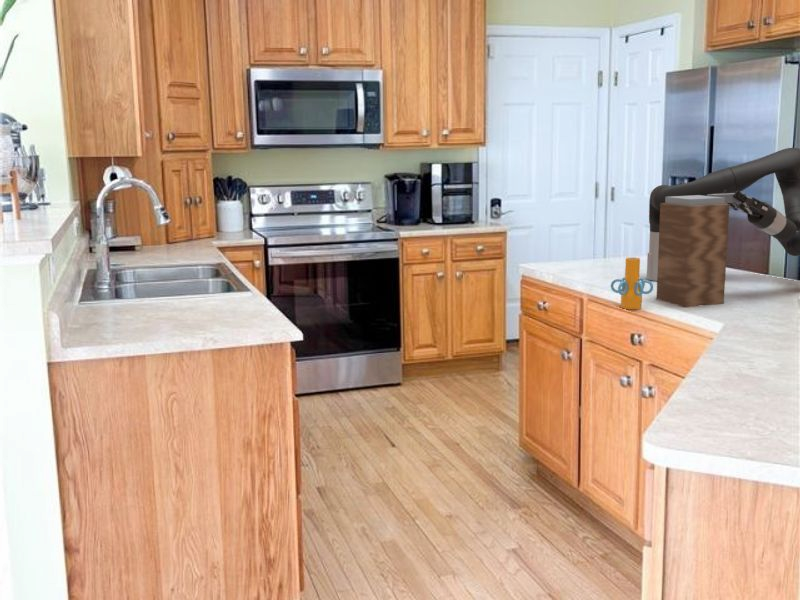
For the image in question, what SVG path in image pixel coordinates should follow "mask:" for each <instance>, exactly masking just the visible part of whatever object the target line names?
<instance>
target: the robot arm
mask: <svg viewBox="0 0 800 600" xmlns="http://www.w3.org/2000/svg"><path fill="white" fill-rule="evenodd" d="M773 174H774V175H775V178H776V180H777V184H778V186H779V189H780V191H781V194H782V200H783V207H784V214H785V215H784V214H783V213H782V212H780V211H779V210H778V209H777V208H775V207H773V206H771V204H769V203H767V202H766V201H761V200H759V199H757V198H755V197H750V196H748V195H747V196H745V195H744V194H742V193H743V191H744V190H746V189H747V188H749V187H751V186H752V185H753V184H754V183H755V184H756V182H758V181H759V180H761V179H762V178H764V177H766V176H769V175H773ZM724 193H735V194H734V196H733V197H734V198H735V199H737V200H738V201H740V202H733V203H726V204H730V205H729V207H731V208H732V209H733V210H734V211H737V212H738V211H741V212H742V213H743V214H745V215H747V220H748V222H749V223H750V224H751V225H753V226H755V227H756V228H758V229H759V230H760V231H762V232H764V233H766V234H768V235H770V236H771V237H772V238H774V239H776V240H777V242H778V243H780V245H781V246H782V247H783V249H784V250H785V252H786V253H787V254H788V255H790V256H794V257H799V256H800V148H798V147H787V148H783V149H781V150H777V151H775V152H772V153H770V154H767V155H765V156H762V157H759V158H757V159H753V160H750V161H747V162H743V163H739V164H736V165H733V166H728V167H725V168H721V169H718V170H716V171H712V172H710V173H708V174H706V175H703V176H702V177H699V178H697V179H695V180H693V181H689V182H684V183H681V184H675V185H668V184H661V185H657V186H656V187H654V188H653V189H652V191H651V193H650V195H649V204H648V205H649V206H648V209H649V210H648V223H649V240H648V241H649V245H648V252H647V259H646V261H647V264H646V265H647V266H646V280H649V281H654V282H657V273H658V250H659V226H660V203H665V197H672V196H692V195H702V196H707V194H724Z"/></svg>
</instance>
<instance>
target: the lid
mask: <svg viewBox="0 0 800 600" xmlns="http://www.w3.org/2000/svg"><path fill="white" fill-rule="evenodd" d="M741 193H742V194H744V195H745V196H746V195H747V194H746V193H745V192H741ZM734 194H735V193H724V194H707V196H702V195H692V196H672V197H665V203H667V204H675V205H684V206H703V205H722V204H727V203H733V202H740V201H738V200H737V199H735V198H734V197H733V196H734Z"/></svg>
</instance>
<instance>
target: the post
mask: <svg viewBox="0 0 800 600" xmlns="http://www.w3.org/2000/svg"><path fill="white" fill-rule="evenodd" d="M729 221H730V204H727V203H724V204H722V205H703V206H684V205H675V204H667V203H660V226H659V250H658V273H657V281H656V300H659V301H663V302H666V303H670V304H672V305H675V306H680V307H683V308H690V306H692V307H700V306H699V305H703V306H710V305H711V306H712V304H713V305H721V304H722V305H723V304H724V303H725V287H726V286H725V285H726V271H727V253H728V235H729Z"/></svg>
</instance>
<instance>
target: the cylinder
mask: <svg viewBox="0 0 800 600" xmlns="http://www.w3.org/2000/svg"><path fill="white" fill-rule="evenodd" d="M640 262H641V259H640V257H636V256H635V257H633V256H632V257H631V256H630V257H625V270H624V271H625V273H624V277H622V279H621V278H615V279H613V280H612V282H611V283H610V289H611V291H612V292H614V293H617V294H619V295H620V308H621V309H623V310H631V311H634V310H636V311H637V310H641V309H642V301H643V294H644V295H649V294H650V293H652V292H653V291H654V284H653V282H652V280H647V279H644V278H643V277H640V267H641V266H640V264H641V263H640ZM618 282H619V284H618V287H617V289H616V288H615V287H614V285H615V283H618ZM647 283H648V284H649V286H650V288H649V290H647V291H645V290H644V288H645V284H647Z"/></svg>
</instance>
